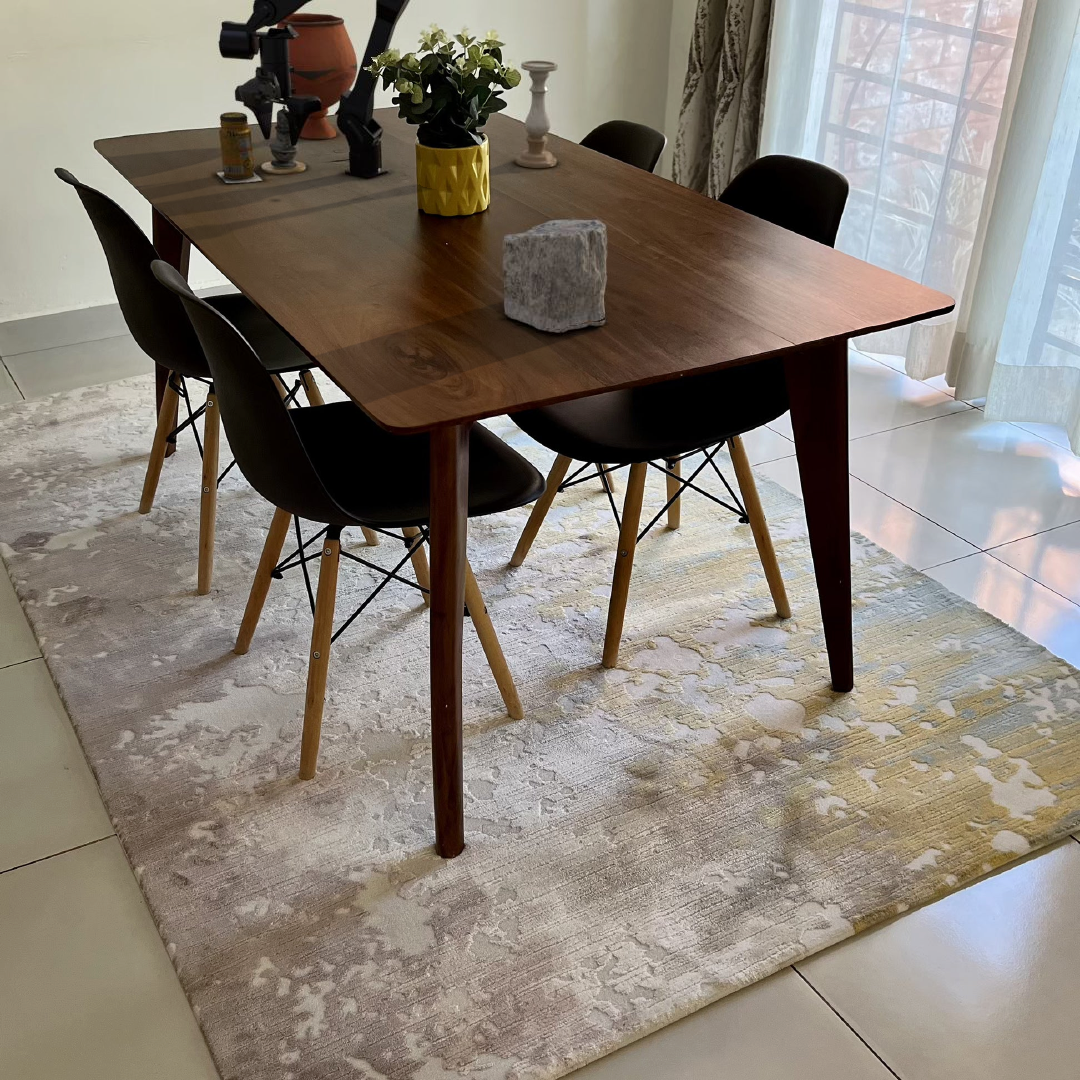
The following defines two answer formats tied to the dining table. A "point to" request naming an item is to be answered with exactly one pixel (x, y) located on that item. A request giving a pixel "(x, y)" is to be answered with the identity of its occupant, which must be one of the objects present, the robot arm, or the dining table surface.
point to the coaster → (271, 169)
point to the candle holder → (537, 118)
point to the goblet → (320, 65)
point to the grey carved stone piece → (283, 144)
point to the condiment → (236, 149)
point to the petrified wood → (556, 274)
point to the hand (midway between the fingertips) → (280, 142)
